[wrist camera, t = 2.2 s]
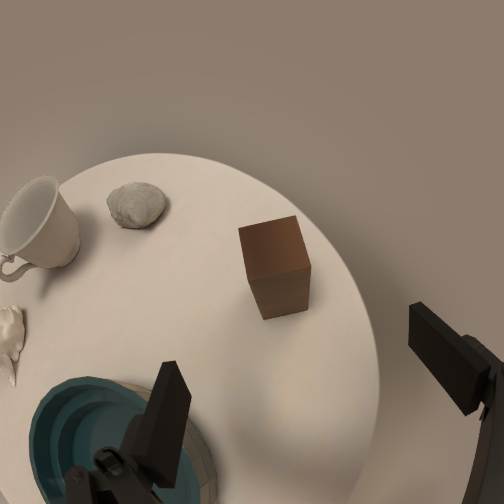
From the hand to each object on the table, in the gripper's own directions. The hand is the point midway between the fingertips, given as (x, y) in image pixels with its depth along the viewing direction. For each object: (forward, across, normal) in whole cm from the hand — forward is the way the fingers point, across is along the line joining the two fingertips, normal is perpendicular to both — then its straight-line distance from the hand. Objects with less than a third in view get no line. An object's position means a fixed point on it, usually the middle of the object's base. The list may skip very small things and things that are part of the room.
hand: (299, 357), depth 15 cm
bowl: (+4, -19, -15) cm, 24 cm away
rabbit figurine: (+15, -40, -4) cm, 42 cm away
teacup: (+24, -29, +5) cm, 38 cm away
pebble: (+26, -15, +8) cm, 32 cm away
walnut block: (+15, 0, -3) cm, 15 cm away
